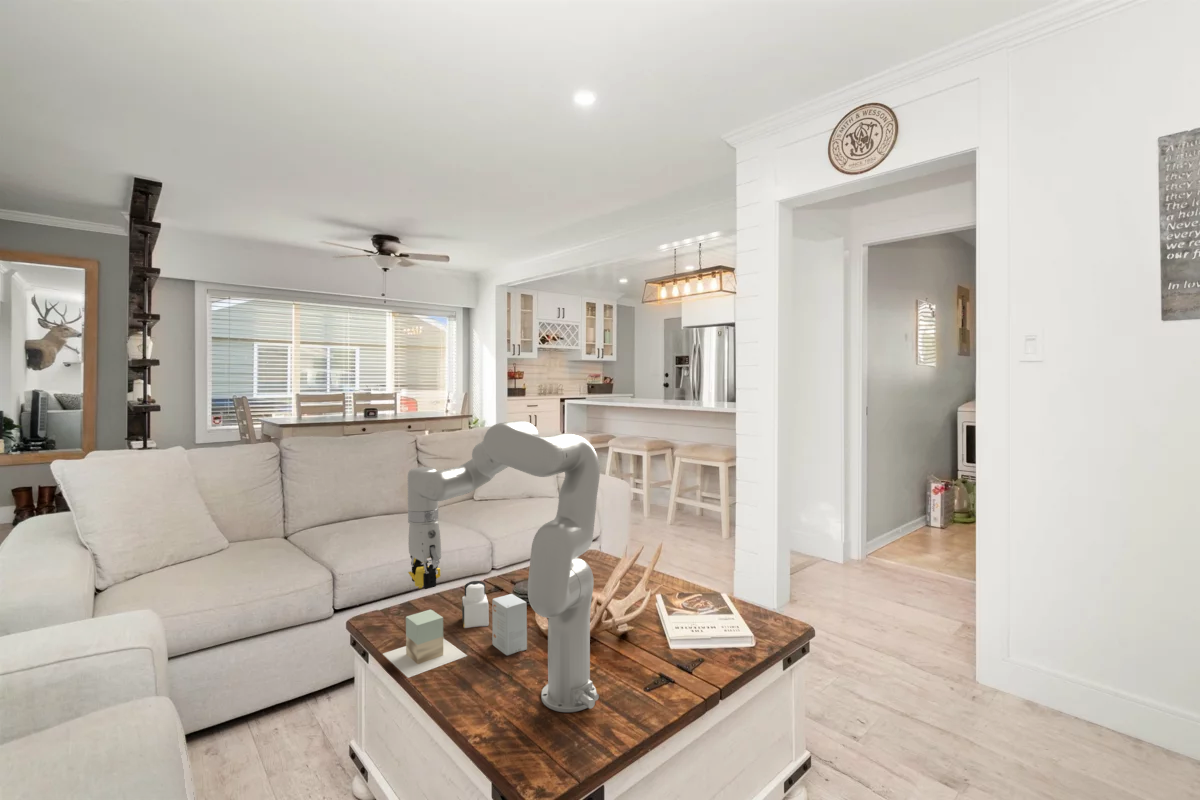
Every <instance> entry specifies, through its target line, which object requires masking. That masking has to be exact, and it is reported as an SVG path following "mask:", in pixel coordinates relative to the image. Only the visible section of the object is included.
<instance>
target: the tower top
mask: <svg viewBox="0 0 1200 800" xmlns="http://www.w3.org/2000/svg"><path fill="white" fill-rule="evenodd" d="M406 636H407V637H408V638H410V639H411V640H412V641H413V642H415V643H416V644H417V645H419V644H422V643H425V642H428V641H431V640H434V639H437V638H440V637H443V638H444V617H443V616H441V615H440V614H438V613H437V612H435V610H432V609H427V610H424V611H419V612H417V613H413V614H410V615H407V616H405V637H406Z"/></svg>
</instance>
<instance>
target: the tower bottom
mask: <svg viewBox="0 0 1200 800" xmlns="http://www.w3.org/2000/svg"><path fill="white" fill-rule="evenodd" d="M443 638H444V636H443V637H440V638H437V639H434V640H431V641H428V642H425V643H422V644H419V645H417V644H416V643H415V642H413V641H412V640H411V639H410V638H408V637H407V636H406V635H405V646H406V654H407V655H408V656H409V657H410V658H411V659H412V660H413V661H415V662H416V663H417V664H420V663H423V662H426V661H428V660H431V659H434V658H437V657H440V656H442V655H443Z"/></svg>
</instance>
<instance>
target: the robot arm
mask: <svg viewBox="0 0 1200 800" xmlns="http://www.w3.org/2000/svg"><path fill="white" fill-rule="evenodd" d="M596 451H597V450H595V448H594V447H593V445H592V444H591V443H590V442H589V441H588V440H587V439H586V438H584V437H583V436H580V435H578V434H575V433H561V434H554V435H549V436H543V437H541V436H540V434H539V431H538V429H537V427H536V426H535V425H534V424H532V423H531V422H529V421H525V420H513V421H506V422H505V421H504V422H498V423H495V424H494V425H492V426H490V427H489V429H487V430H486V432H485V434H484V436H483V441H481V442H479V443H477V444H476V445H475V446H474V447H473V449H472V451H471V459H470V460H468V461H467V462H465V463H463V464H461V465H459V466H454V467H450V468H449V467H448V468H444V469H439V470H437V469H436V468H434V467H430V466H429V467H428V466H423V467H420V466H419V467H414V468H411V469H410V470H409V471H408V472H407V524H408V525H409V526H408V528H409V529H408V553H409V555H410V556H409V557H410V558H411V561H410V565H411V572H412V573H413V574H414V575H415V573H416V568H417V567H423V566H424V570H425V573H423V581H424V586H423V589H424V590H427V589H431V588H435V587H436V586H437V579H436V575H437V573H438V571H437V568H439V567H438V566H439V565H440V560H441V558H442V544H441V543H442V542H441V540H442V539H441V530H440V525H439V502H443V501H446V500H450V499H453V498H457V497H460V496H463V495H466V494H469V493H471V492H473V491H475V490H477V489H478V488H480V487H482V486H484V485H486V484H487V483H488V482H490V481H492V479H493V478H495V476H496V475H497V474H499V473H501V472H503V471H504V470H505V469H508V468H512V469H515V470H517V471H520V472H523V473H526V474H528V475H531V476H534V477H539V478H547V477H548V478H549V477H552V476H553V477H554V476H555V475H559V474H562V473H564V478H563V479H564V480H563V482H562V484H561V487H560V489H559V494H558V502H557V503H558V505H557V512H556V514H555V515H556V516H555V518H554V519H552V520H550V521H548V522H545V524H543V525H542V526H540V527H539V529H538V530H536V533H535V534H534V537H533V540H532V543H531V550H530V558H529V559H530V560H529V568H528V580H527V597H528V601H529V602H528V603H529V605H530V607H531V608H532V610H533V611H534V613H536V614H537V616H540V617H542V618H547V680H548V681H547V683H546V685H544V687H543V688H542V690H541V696H540V698H541V702H542V703H543V705H544V706H545V707H547V708H548V709H550V710H552V711H555V712H560V713H577V712H580V711H583V710H585V709H590V710H591V709H593V708H594V706H595V705H596V701H598V700H599V698H600V694H598V692H597V688H596V687H595V685H594V684H593V680H591V673H590V672H591V668H590V667H591V662H590V661H591V644H590V642H591V641H590V640H591V606H592V600H593V593H594V575H593V570H592V569H591V567H590V565H589V564H588V562H586V561H585V560H583V559H582V558H579V557H580V556H582V555H583V554H585V553H586V552H587V551H589V549H590V548H591V546H592V543H593V540H594V533H595V532H594V531H595V529H594V528H595V523H596V522H595V521H596V520H595V519H596V512H597V500H598V499H597V498H598V491H599V483H600V475H601V474H600V473H601V472H600V471H601V468H600V467H601V465H600V460H599V457H598V454H597V452H596ZM430 563H431V564H430ZM428 564H429V565H428ZM428 566H429V567H428ZM411 581H412V582H413V583H415V581H414V580H413V578H412V577H411Z"/></svg>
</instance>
